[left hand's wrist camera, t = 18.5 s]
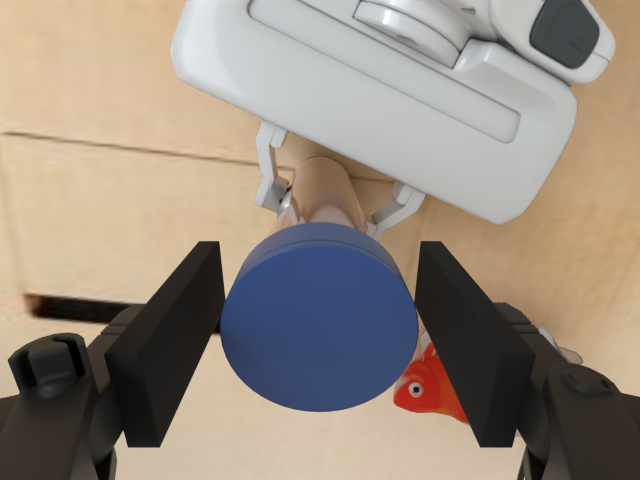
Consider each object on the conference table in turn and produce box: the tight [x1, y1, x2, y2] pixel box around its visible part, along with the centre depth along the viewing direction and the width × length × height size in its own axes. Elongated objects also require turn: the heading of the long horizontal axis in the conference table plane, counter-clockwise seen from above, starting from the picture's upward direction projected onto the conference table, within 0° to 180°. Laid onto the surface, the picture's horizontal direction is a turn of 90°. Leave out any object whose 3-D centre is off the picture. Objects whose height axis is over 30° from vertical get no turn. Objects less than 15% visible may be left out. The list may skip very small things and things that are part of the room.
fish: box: [393, 326, 583, 436], centre depth 29 cm, size 11×16×10 cm
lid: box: [220, 222, 419, 412], centre depth 11 cm, size 6×6×2 cm
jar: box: [268, 157, 372, 238], centre depth 19 cm, size 5×5×18 cm
